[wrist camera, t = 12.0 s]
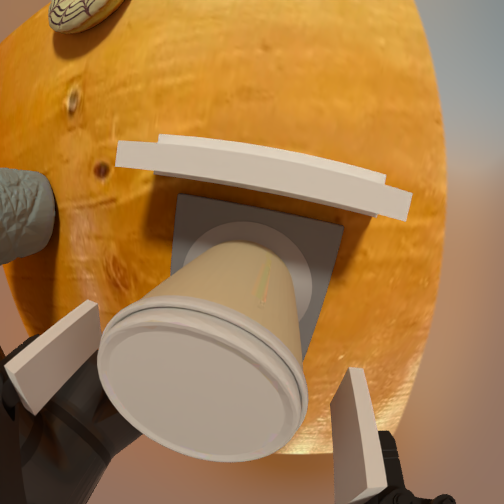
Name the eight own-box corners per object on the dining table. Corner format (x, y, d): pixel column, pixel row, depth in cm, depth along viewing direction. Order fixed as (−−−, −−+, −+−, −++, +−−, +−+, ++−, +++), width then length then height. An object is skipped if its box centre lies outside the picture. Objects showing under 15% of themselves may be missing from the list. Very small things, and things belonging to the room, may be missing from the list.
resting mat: (302, 359, 23) (302, 364, 22) (170, 327, 24) (167, 331, 23) (342, 225, 19) (344, 227, 19) (181, 193, 20) (177, 194, 20)
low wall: (372, 215, 19) (401, 235, 13) (159, 173, 20) (113, 179, 14) (382, 174, 18) (415, 179, 12) (165, 135, 19) (120, 128, 13)
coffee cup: (221, 352, 23) (173, 467, 12) (162, 259, 21) (59, 343, 10) (324, 315, 21) (338, 448, 9) (269, 204, 19) (228, 265, 8)
